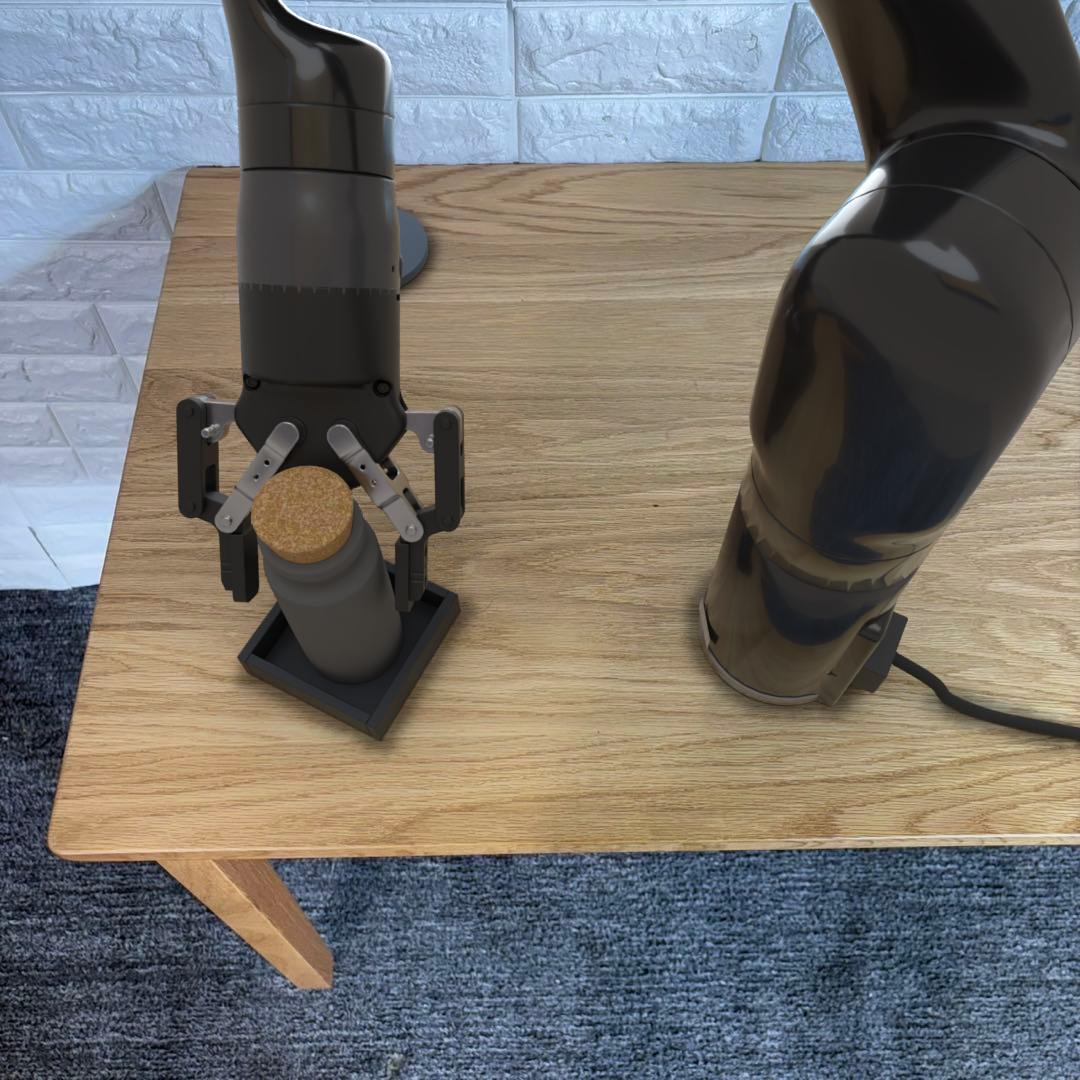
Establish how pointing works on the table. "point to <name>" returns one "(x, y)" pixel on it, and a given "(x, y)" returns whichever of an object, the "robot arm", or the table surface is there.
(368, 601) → the bottle
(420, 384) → the table surface
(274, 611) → the tray
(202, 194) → the table surface
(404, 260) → the mat
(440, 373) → the table surface
